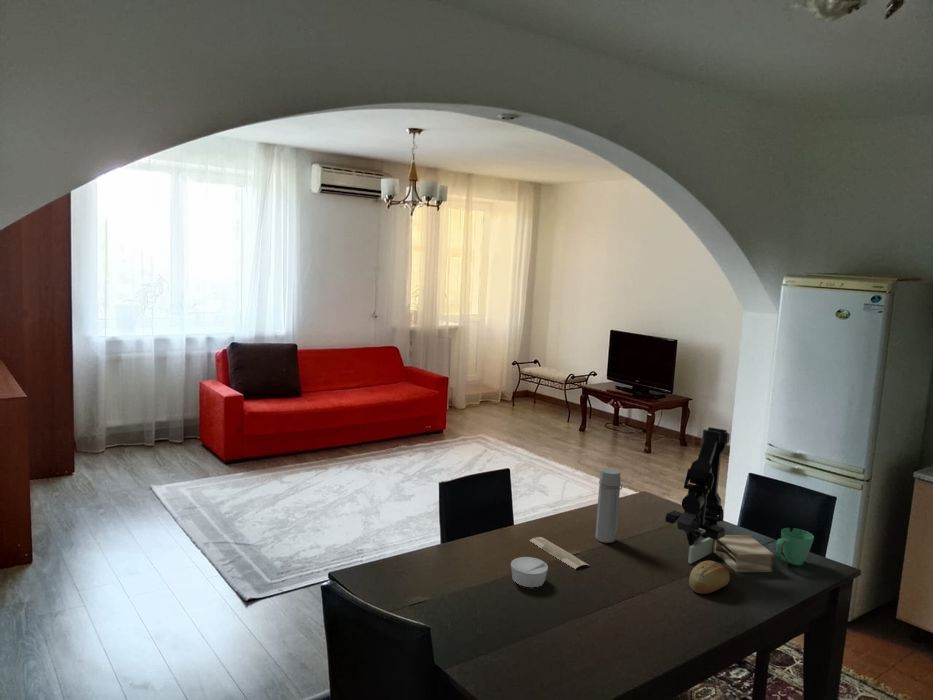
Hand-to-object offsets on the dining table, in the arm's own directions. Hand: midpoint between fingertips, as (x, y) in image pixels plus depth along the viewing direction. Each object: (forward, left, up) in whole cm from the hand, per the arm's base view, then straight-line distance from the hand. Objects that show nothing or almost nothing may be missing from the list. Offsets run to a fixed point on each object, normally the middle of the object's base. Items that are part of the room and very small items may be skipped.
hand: (691, 549), depth 221 cm
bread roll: (+20, -3, -3) cm, 21 cm away
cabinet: (+3, +17, -3) cm, 17 cm away
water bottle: (-14, -24, -3) cm, 28 cm away
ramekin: (+15, -58, -4) cm, 60 cm away
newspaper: (-3, -45, -4) cm, 45 cm away
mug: (+4, +33, -3) cm, 33 cm away
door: (0, +4, -3) cm, 5 cm away
